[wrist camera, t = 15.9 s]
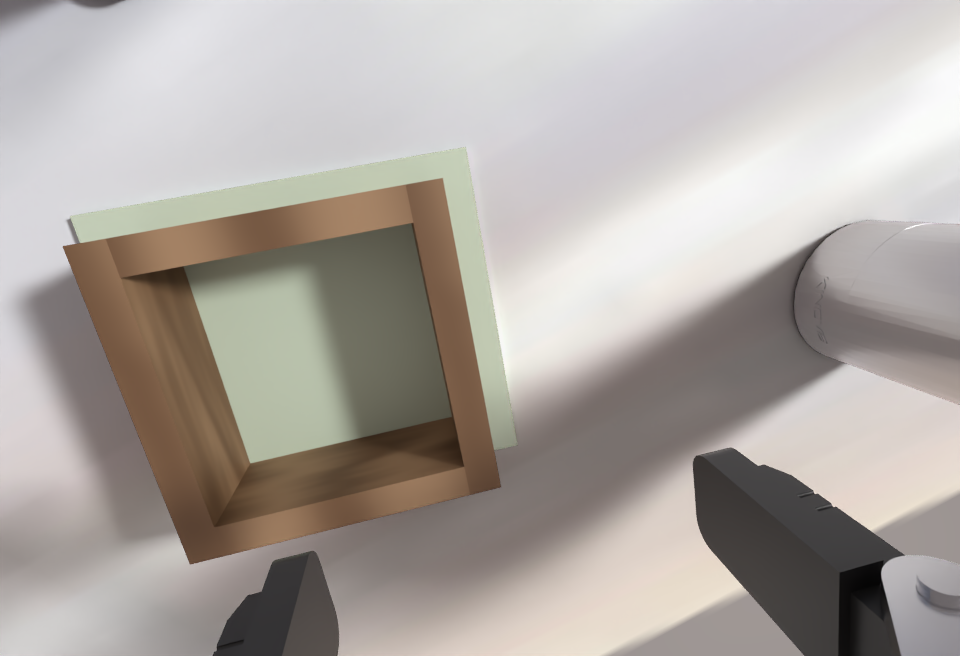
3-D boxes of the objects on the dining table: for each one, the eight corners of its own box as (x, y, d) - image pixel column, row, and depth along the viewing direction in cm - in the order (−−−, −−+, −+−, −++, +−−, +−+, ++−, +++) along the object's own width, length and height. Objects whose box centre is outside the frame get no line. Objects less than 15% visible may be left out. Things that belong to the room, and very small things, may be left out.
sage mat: (464, 147, 27) (465, 147, 27) (516, 442, 32) (517, 445, 32) (74, 216, 25) (69, 216, 25) (192, 520, 30) (189, 524, 30)
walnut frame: (433, 182, 27) (442, 177, 21) (482, 434, 31) (500, 486, 25) (138, 235, 25) (62, 246, 20) (230, 493, 30) (190, 564, 24)
